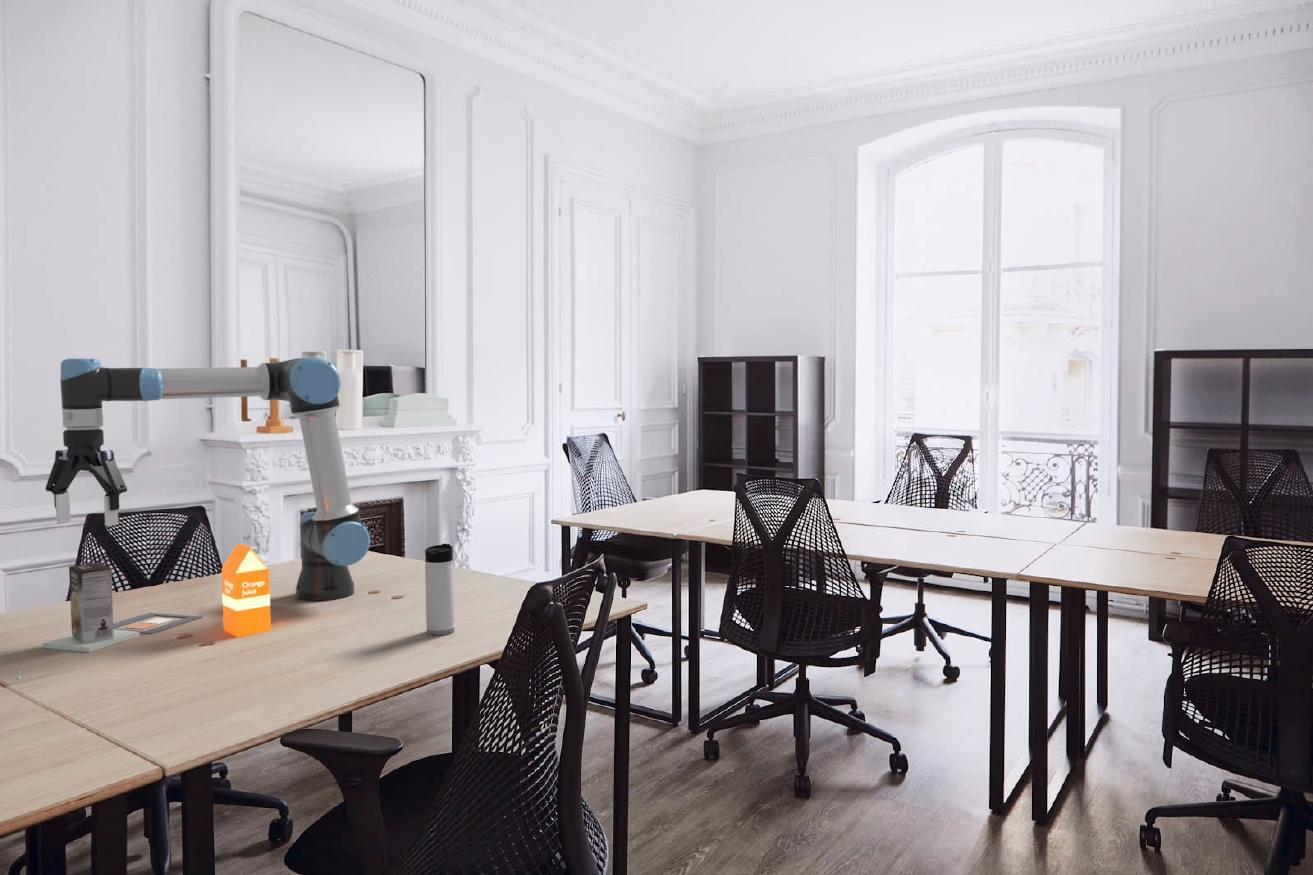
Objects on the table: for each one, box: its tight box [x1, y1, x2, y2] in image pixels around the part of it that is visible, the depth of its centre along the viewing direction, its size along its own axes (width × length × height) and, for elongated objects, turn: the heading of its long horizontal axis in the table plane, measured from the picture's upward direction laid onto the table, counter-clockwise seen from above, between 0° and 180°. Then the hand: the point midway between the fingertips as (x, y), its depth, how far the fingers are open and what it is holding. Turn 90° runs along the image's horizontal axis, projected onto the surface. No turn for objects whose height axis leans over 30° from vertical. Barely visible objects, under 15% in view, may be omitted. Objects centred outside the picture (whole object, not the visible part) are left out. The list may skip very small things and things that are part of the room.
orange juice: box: [221, 543, 272, 638], centre depth 209 cm, size 8×9×20 cm
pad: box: [42, 630, 140, 653], centre depth 201 cm, size 13×13×1 cm
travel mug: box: [424, 543, 455, 636], centre depth 206 cm, size 6×7×20 cm
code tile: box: [113, 612, 203, 635], centre depth 216 cm, size 16×15×1 cm
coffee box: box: [68, 561, 114, 644], centre depth 200 cm, size 9×6×16 cm
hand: (87, 524), depth 199 cm, fingers open, 13 cm apart
